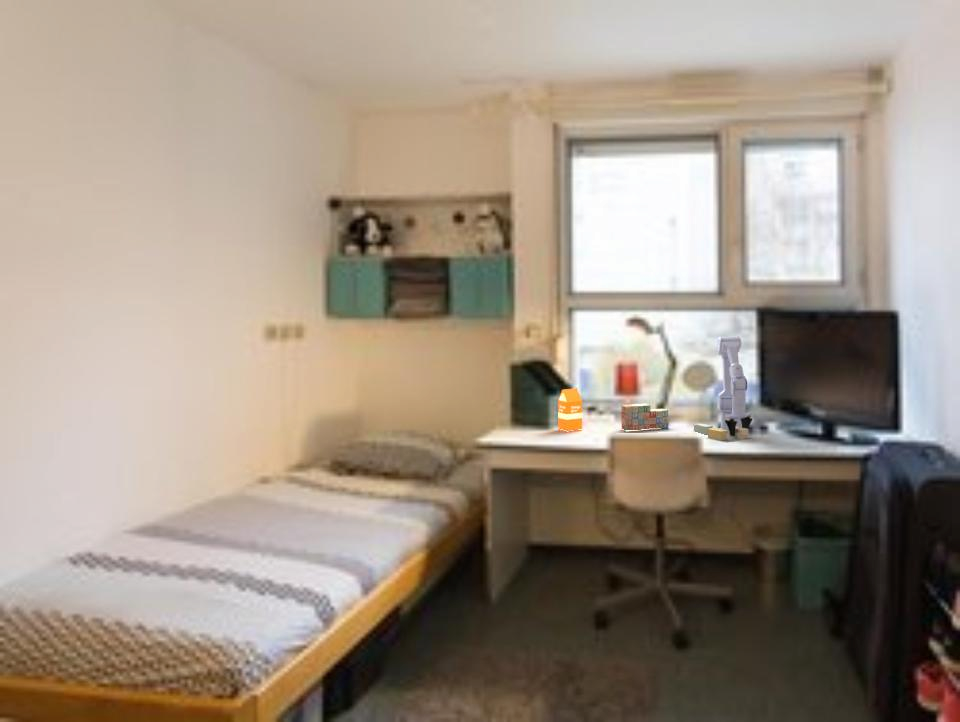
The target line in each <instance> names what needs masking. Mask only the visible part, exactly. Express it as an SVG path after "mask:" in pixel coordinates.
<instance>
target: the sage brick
mask: <svg viewBox="0 0 960 722" xmlns="http://www.w3.org/2000/svg"><path fill="white" fill-rule="evenodd" d="M710 428H714V426H713V425H710V424H706V423H695V424H693V432H694V431H695V432H698V433H701V434H704V435H708V429H710Z"/></svg>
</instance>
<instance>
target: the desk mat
mask: <svg viewBox="0 0 960 722" xmlns="http://www.w3.org/2000/svg"><path fill="white" fill-rule="evenodd" d="M708 439H709V440H714V441H719V442H723V443H731V442H739V441H745V440H750V439H754V438H753V437H749V438H744V439H741V438H736V437H731V436H729V432H727V439H726V440H717V439H712V438H708Z"/></svg>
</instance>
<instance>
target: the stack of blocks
mask: <svg viewBox="0 0 960 722" xmlns="http://www.w3.org/2000/svg"><path fill="white" fill-rule="evenodd" d="M620 411H621V412H620V413H621V414H620V415H621V430H622V429H624V430H641V429H649V428H668V429H669V410H668V409H665V408H651V405H650V404H649V403H634V404H633V403H632V404H621V410H620Z"/></svg>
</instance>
